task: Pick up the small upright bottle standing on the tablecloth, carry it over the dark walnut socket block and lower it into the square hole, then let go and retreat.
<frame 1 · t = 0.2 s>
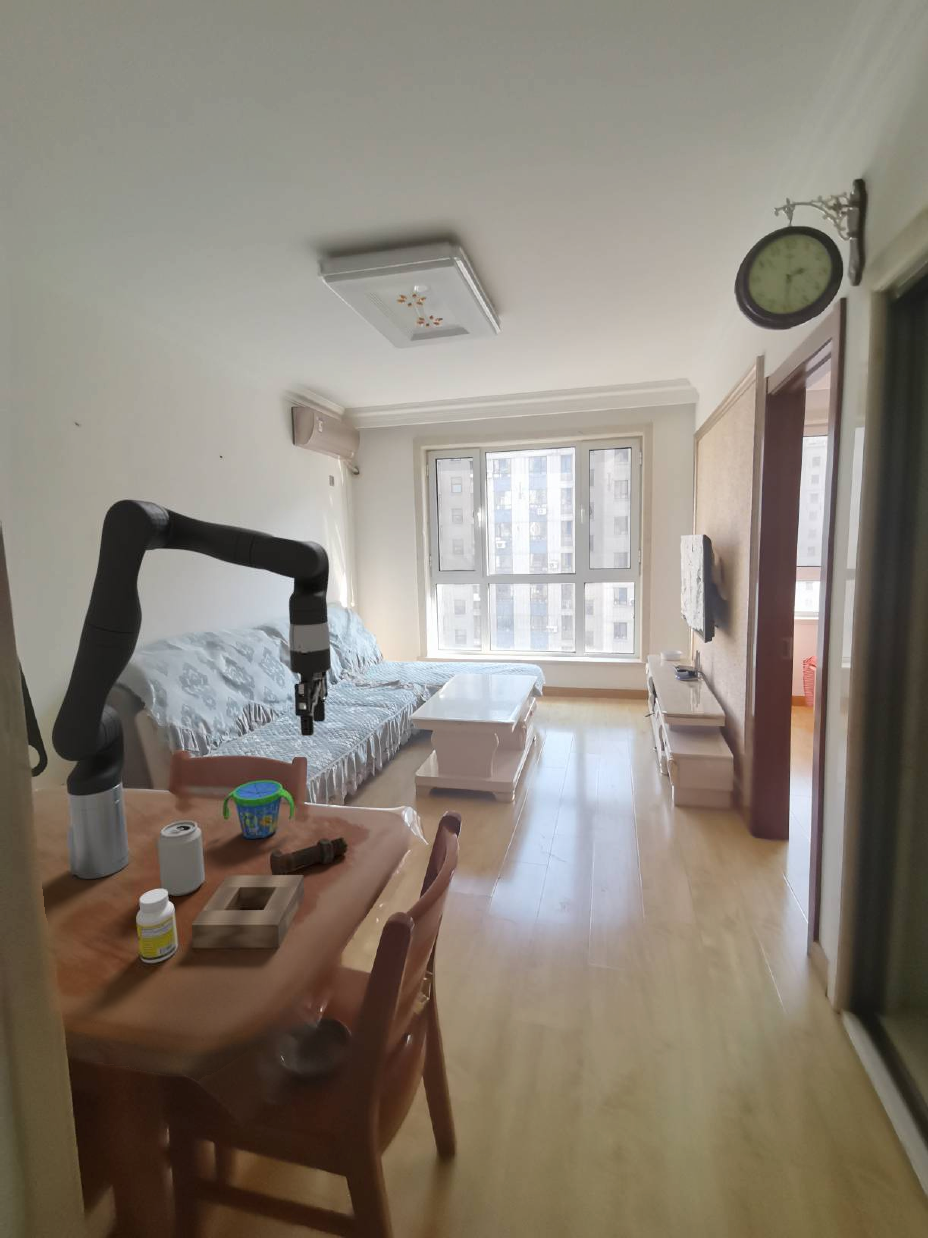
hand: (313, 727, 113), 29 cm above the table, fingers open, 8 cm apart
socket block: (252, 919, 100), on the table
snack cup: (260, 833, 131), on the table
can: (184, 887, 111), on the table
bolt: (311, 867, 117), on the table
supplement bottle: (159, 953, 93), on the table
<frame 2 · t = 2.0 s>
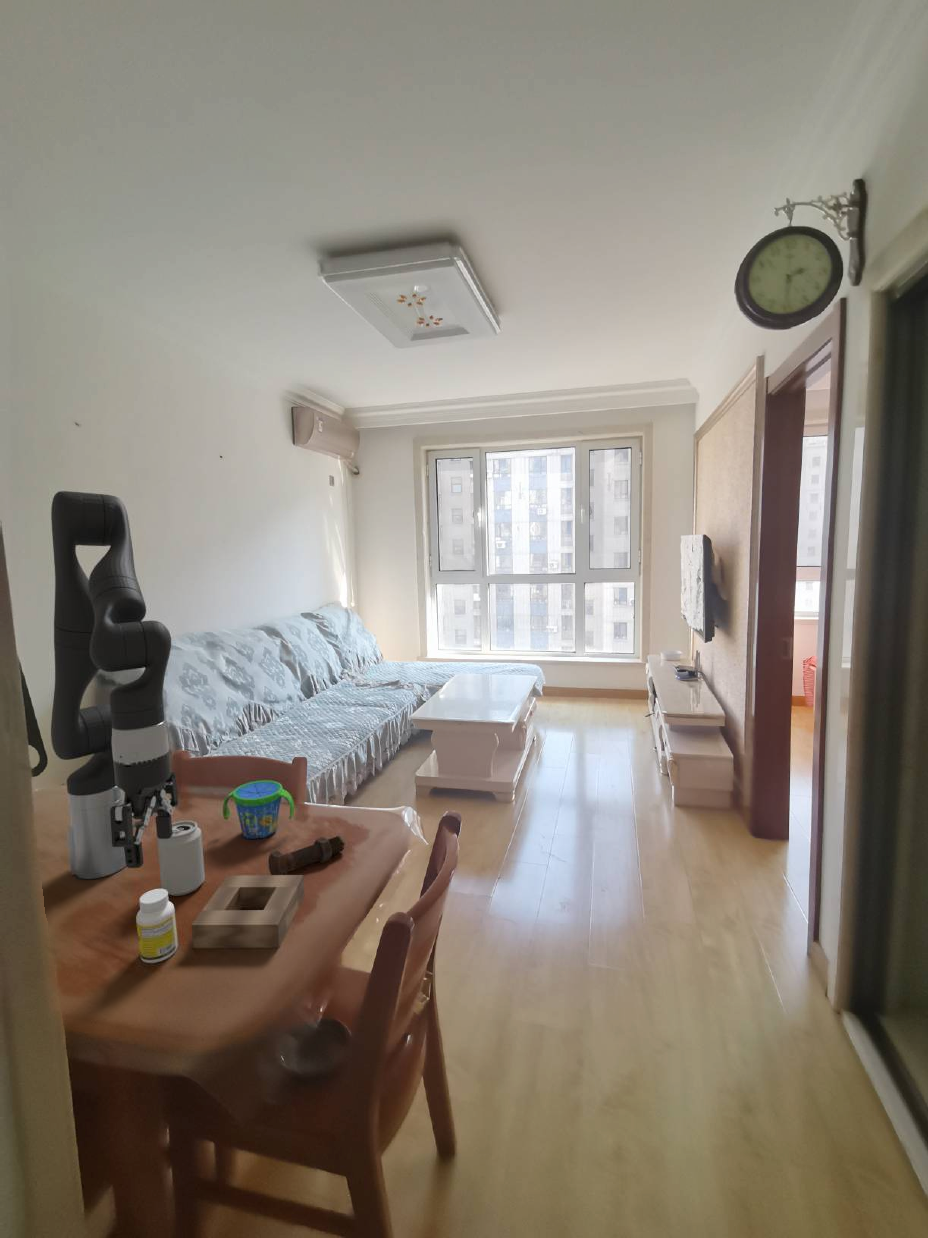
hand: (150, 851, 90), 17 cm above the table, fingers open, 8 cm apart
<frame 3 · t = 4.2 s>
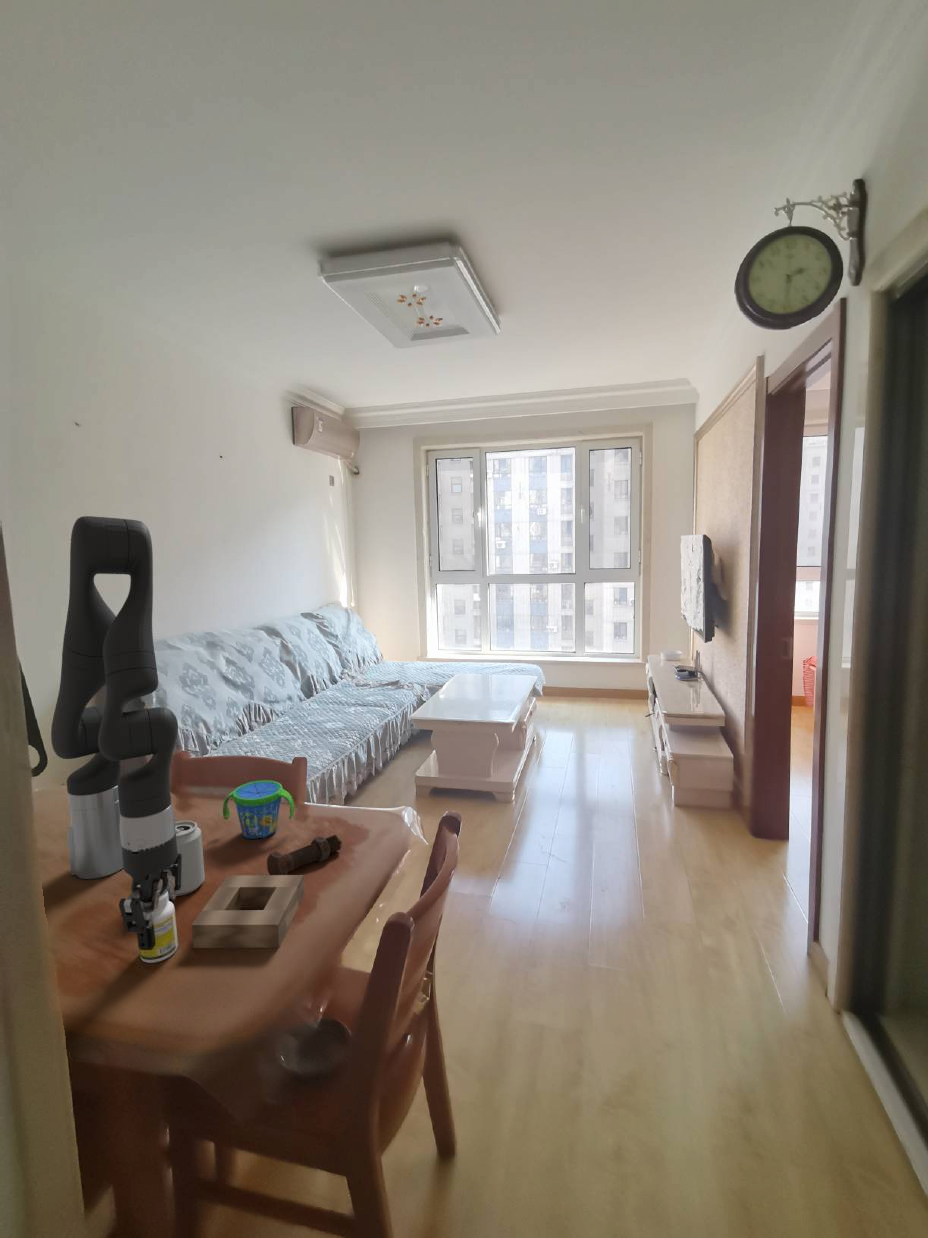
hand: (157, 935, 92), 3 cm above the table, fingers closed on supplement bottle, 5 cm apart
supplement bottle: (159, 953, 93), on the table, touching gripper
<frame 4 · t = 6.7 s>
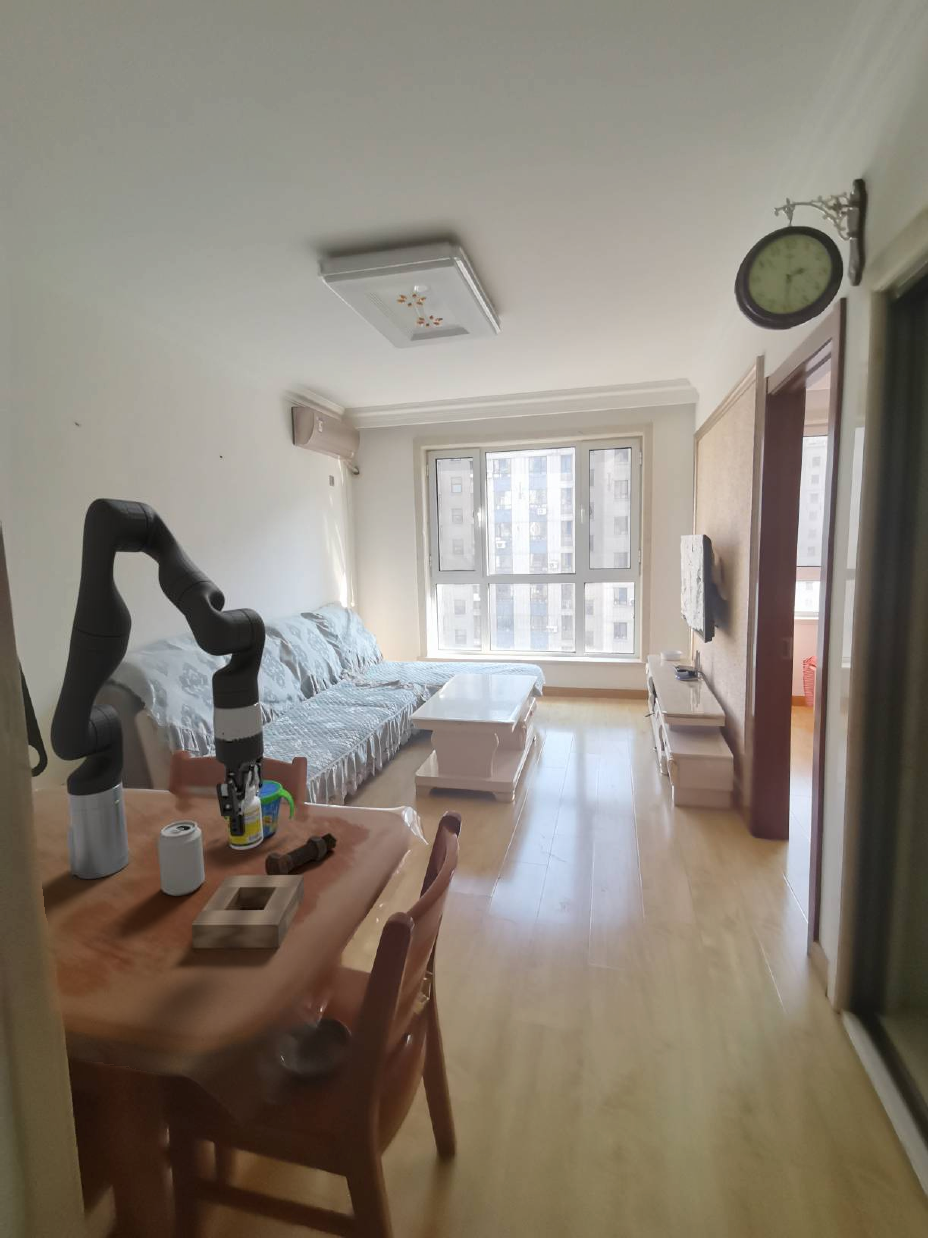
hand: (245, 826, 98), 17 cm above the table, fingers closed on supplement bottle, 5 cm apart
supplement bottle: (246, 843, 98), point 14 cm above the table, touching gripper
when the fingers open (5 cm above the table, at t = 9.5 s): supplement bottle drops 2 cm, resting in socket block.
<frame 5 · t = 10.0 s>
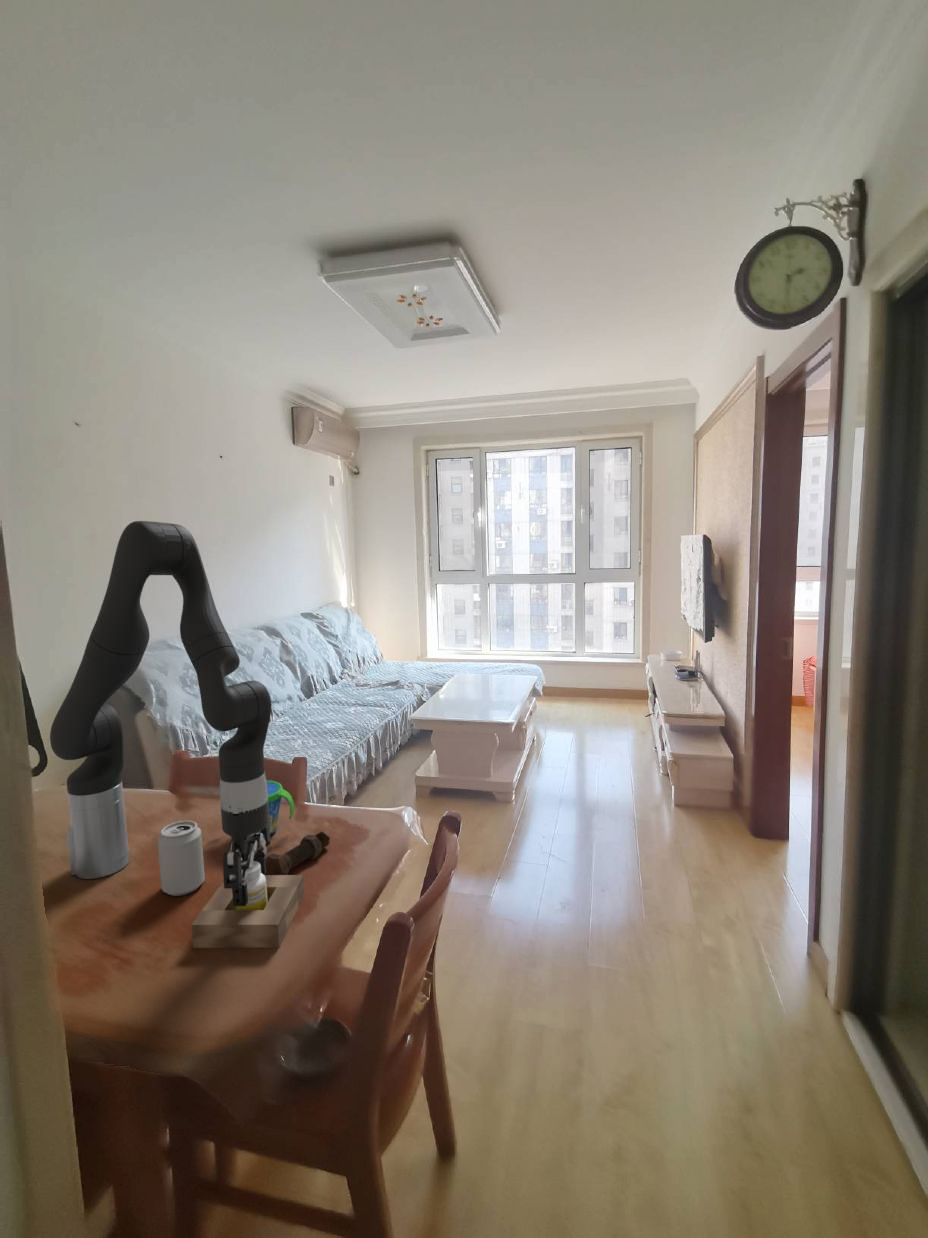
hand: (250, 889, 100), 6 cm above the table, fingers open, 8 cm apart
supplement bottle: (252, 920, 100), resting in socket block
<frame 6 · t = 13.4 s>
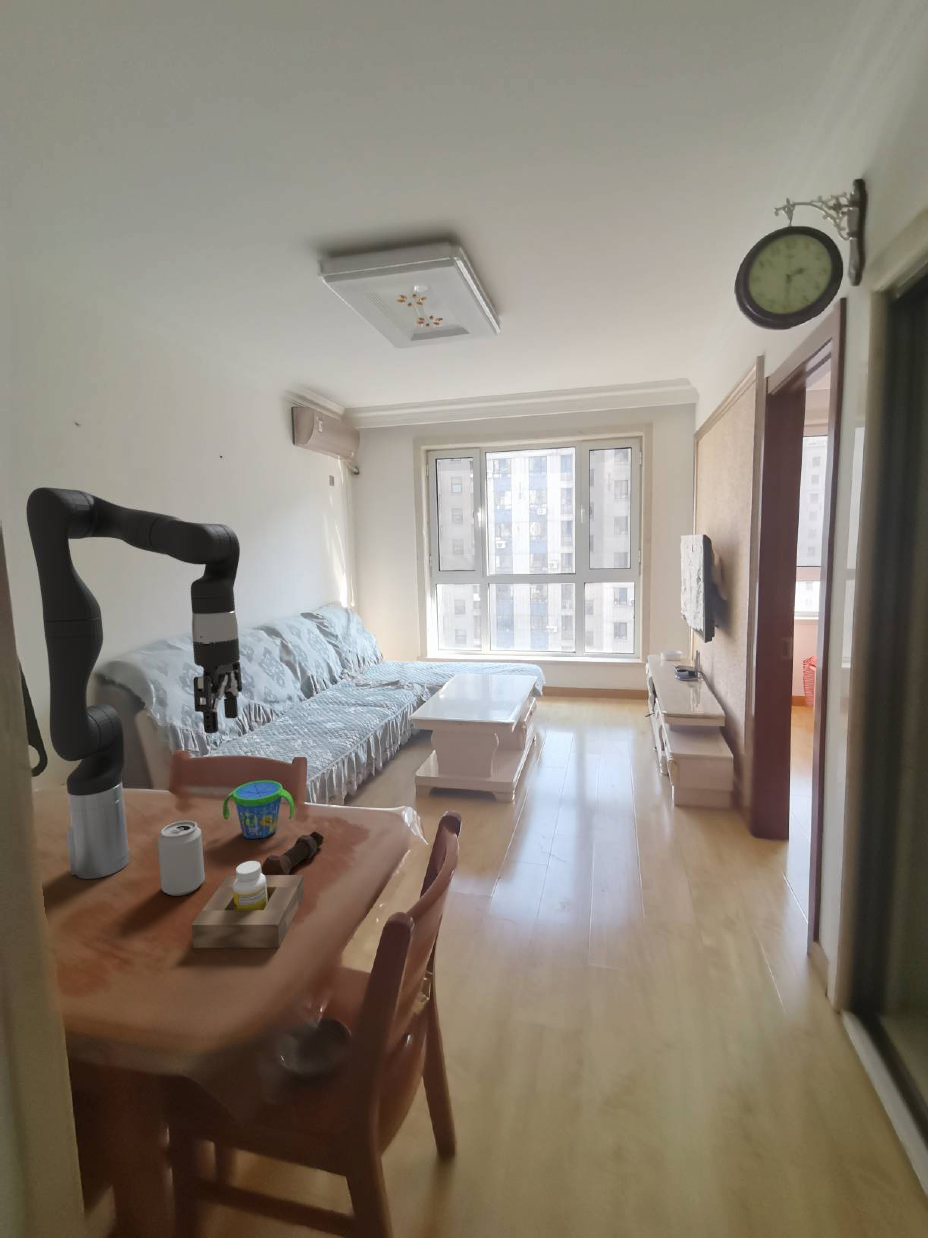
hand: (222, 724, 105), 32 cm above the table, fingers open, 8 cm apart
at the end: supplement bottle 0.1 cm from the socket block (horizontally); supplement bottle resting in socket block; supplement bottle tilted 0° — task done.
